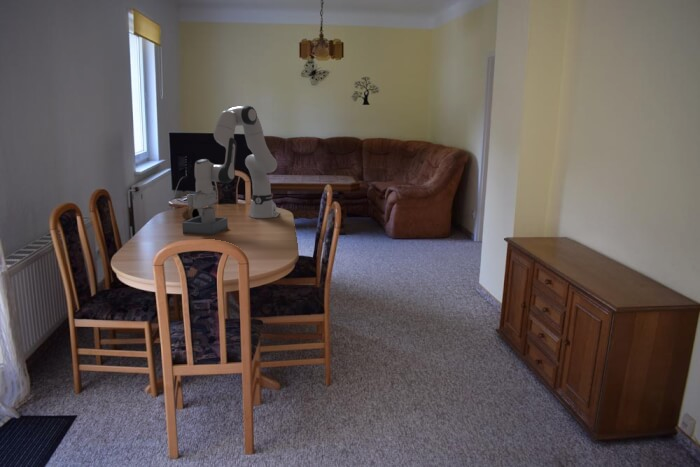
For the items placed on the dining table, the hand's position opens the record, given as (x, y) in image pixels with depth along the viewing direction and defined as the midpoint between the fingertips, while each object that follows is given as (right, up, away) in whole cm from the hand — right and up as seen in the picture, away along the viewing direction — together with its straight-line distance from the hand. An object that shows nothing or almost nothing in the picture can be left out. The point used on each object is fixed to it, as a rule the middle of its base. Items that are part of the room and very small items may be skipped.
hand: (205, 213), depth 310 cm
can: (+2, -9, +1) cm, 9 cm away
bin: (0, -9, +2) cm, 10 cm away
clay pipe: (-14, -4, +28) cm, 32 cm away
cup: (-19, +2, +50) cm, 54 cm away
